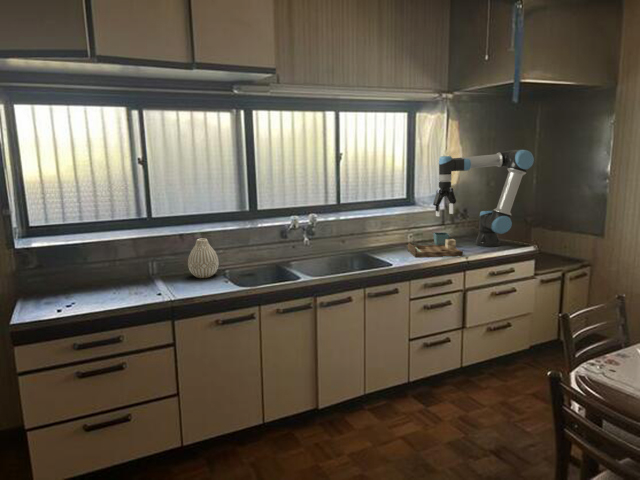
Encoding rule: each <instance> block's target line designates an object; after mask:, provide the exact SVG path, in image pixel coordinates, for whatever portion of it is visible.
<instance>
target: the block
mask: <svg viewBox="0 0 640 480" xmlns="http://www.w3.org/2000/svg"><path fill="white" fill-rule="evenodd" d="M456 243H457V242H456V239H454V238H449V239H445V247H446V248H457V247H456V246H457V245H456Z"/></svg>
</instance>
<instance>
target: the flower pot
mask: <svg viewBox="0 0 640 480" xmlns="http://www.w3.org/2000/svg"><path fill="white" fill-rule="evenodd" d="M445 239H450V234H449V233H447V232H433V242H434V245H445Z"/></svg>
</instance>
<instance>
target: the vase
mask: <svg viewBox="0 0 640 480" xmlns="http://www.w3.org/2000/svg"><path fill="white" fill-rule="evenodd" d="M219 261H220V260H219V256H218V255H217V252H216V250H215V249H214V248H213V247H212V246H211V245H210V241H208V239H207V238H205V237H204V238H202V237H201V238H198V239H196V241H195V244H194V246H193V248H192V249H191V251H190V253H189V255H188V260H187V266H188V267H187V268H188V269H189V272H190V274H192V275H193V276H194V277H195V278H197V279H206V278H211V277H212V276H214V275H215V274H216V273H217V271H218V268H219V265H220V264H219Z"/></svg>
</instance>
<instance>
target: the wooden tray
mask: <svg viewBox="0 0 640 480" xmlns="http://www.w3.org/2000/svg"><path fill="white" fill-rule="evenodd" d="M407 245H408V246H407V252H408V253H410V254H411V255H412V256H413V257H414V258H441V257H443V256H452V257H463V250H460V249H458V248H457V247H455V248H446V247H445V245H436V244H425V245H412V244H411V243H408V244H407ZM443 258H444V257H443Z"/></svg>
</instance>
